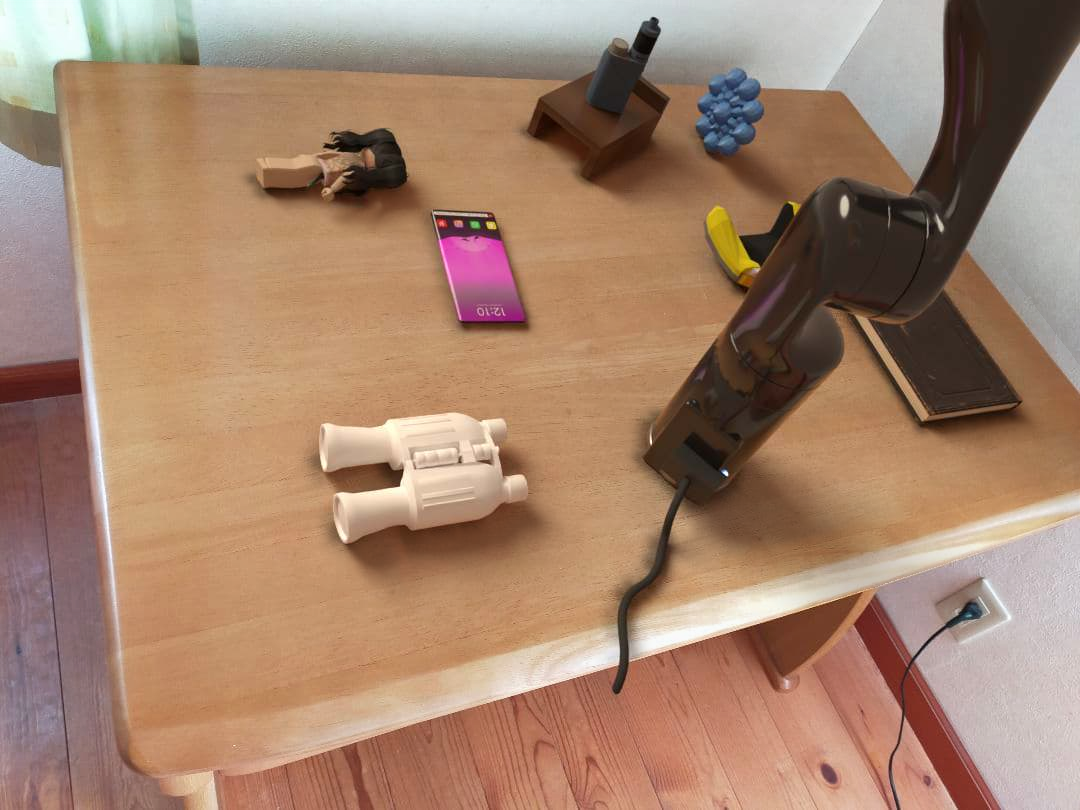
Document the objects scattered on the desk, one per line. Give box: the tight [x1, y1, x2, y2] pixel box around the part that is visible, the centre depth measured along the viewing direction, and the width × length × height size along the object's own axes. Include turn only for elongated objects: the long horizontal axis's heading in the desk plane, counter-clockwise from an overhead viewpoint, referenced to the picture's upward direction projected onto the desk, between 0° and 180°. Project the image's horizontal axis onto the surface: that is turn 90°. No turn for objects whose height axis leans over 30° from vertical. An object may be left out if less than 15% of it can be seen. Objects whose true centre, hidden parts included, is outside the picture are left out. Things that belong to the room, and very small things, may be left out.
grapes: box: [694, 67, 765, 158], centre depth 114 cm, size 12×7×12 cm, turn 20°
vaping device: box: [587, 16, 662, 114], centre depth 103 cm, size 3×5×12 cm, turn 90°
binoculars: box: [318, 412, 529, 545], centre depth 73 cm, size 10×16×5 cm, turn 110°
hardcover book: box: [847, 288, 1024, 426], centre depth 108 cm, size 16×23×2 cm
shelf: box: [526, 69, 671, 181], centre depth 109 cm, size 14×10×7 cm
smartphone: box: [430, 209, 527, 324], centre depth 91 cm, size 7×15×1 cm, turn 16°
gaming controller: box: [703, 201, 802, 289], centre depth 105 cm, size 15×6×10 cm
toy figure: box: [255, 127, 410, 202], centre depth 90 cm, size 7×6×15 cm
